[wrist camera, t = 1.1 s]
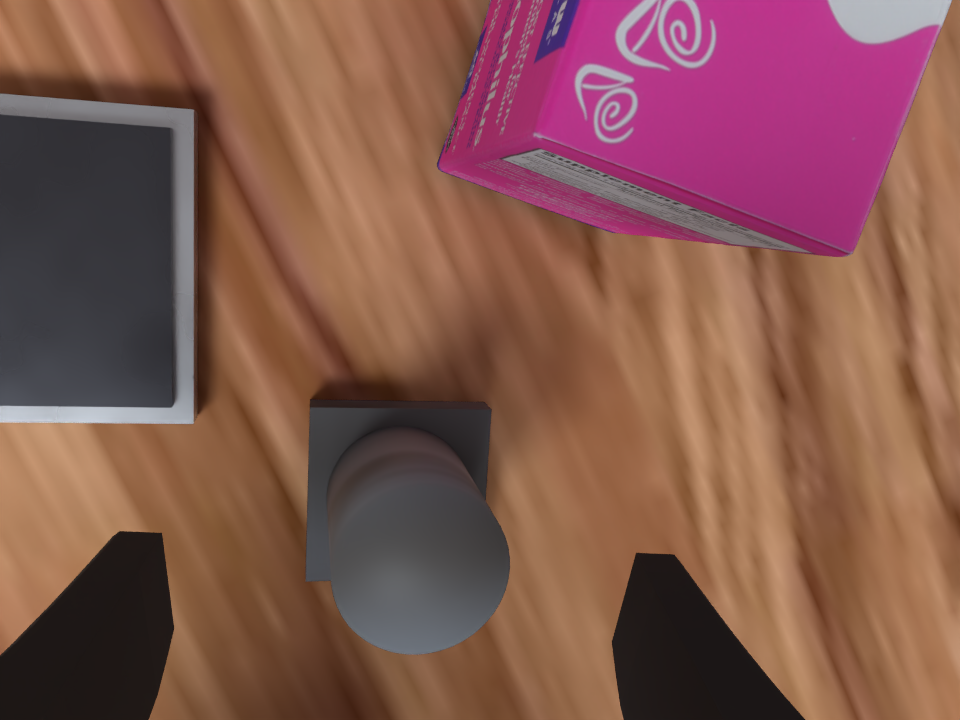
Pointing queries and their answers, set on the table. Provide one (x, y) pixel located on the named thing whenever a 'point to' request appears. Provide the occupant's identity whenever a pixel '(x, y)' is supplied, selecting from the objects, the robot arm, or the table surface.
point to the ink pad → (98, 262)
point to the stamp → (404, 520)
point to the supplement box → (695, 113)
